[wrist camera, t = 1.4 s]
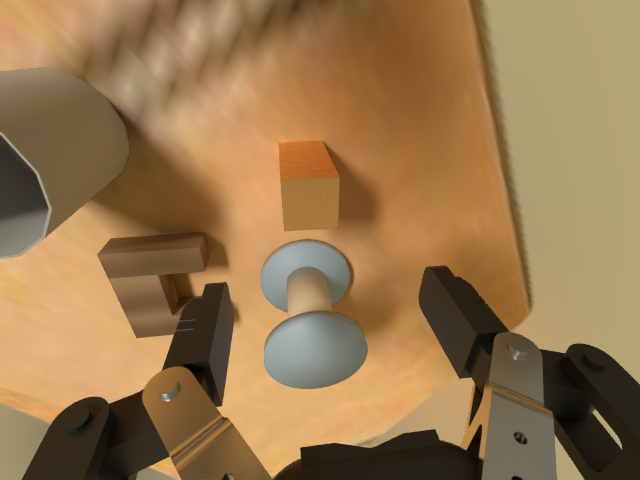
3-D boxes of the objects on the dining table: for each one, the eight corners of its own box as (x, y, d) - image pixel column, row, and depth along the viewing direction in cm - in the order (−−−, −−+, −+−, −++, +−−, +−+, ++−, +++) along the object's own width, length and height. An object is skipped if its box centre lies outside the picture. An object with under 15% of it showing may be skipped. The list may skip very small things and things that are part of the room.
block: (278, 142, 25) (280, 179, 18) (322, 141, 25) (339, 176, 18) (281, 184, 27) (284, 231, 20) (322, 182, 27) (338, 227, 20)
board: (110, 238, 27) (97, 254, 25) (204, 232, 28) (199, 247, 26) (145, 319, 33) (136, 338, 31) (223, 311, 34) (219, 329, 31)
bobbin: (256, 242, 29) (250, 322, 21) (350, 236, 30) (379, 310, 22) (265, 311, 34) (263, 398, 26) (346, 303, 35) (368, 385, 27)
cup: (151, 132, 23) (82, 182, 15) (97, 206, 26) (12, 285, 17) (23, 35, 19) (-167, 29, 11) (-26, 134, 22) (-212, 190, 13)
